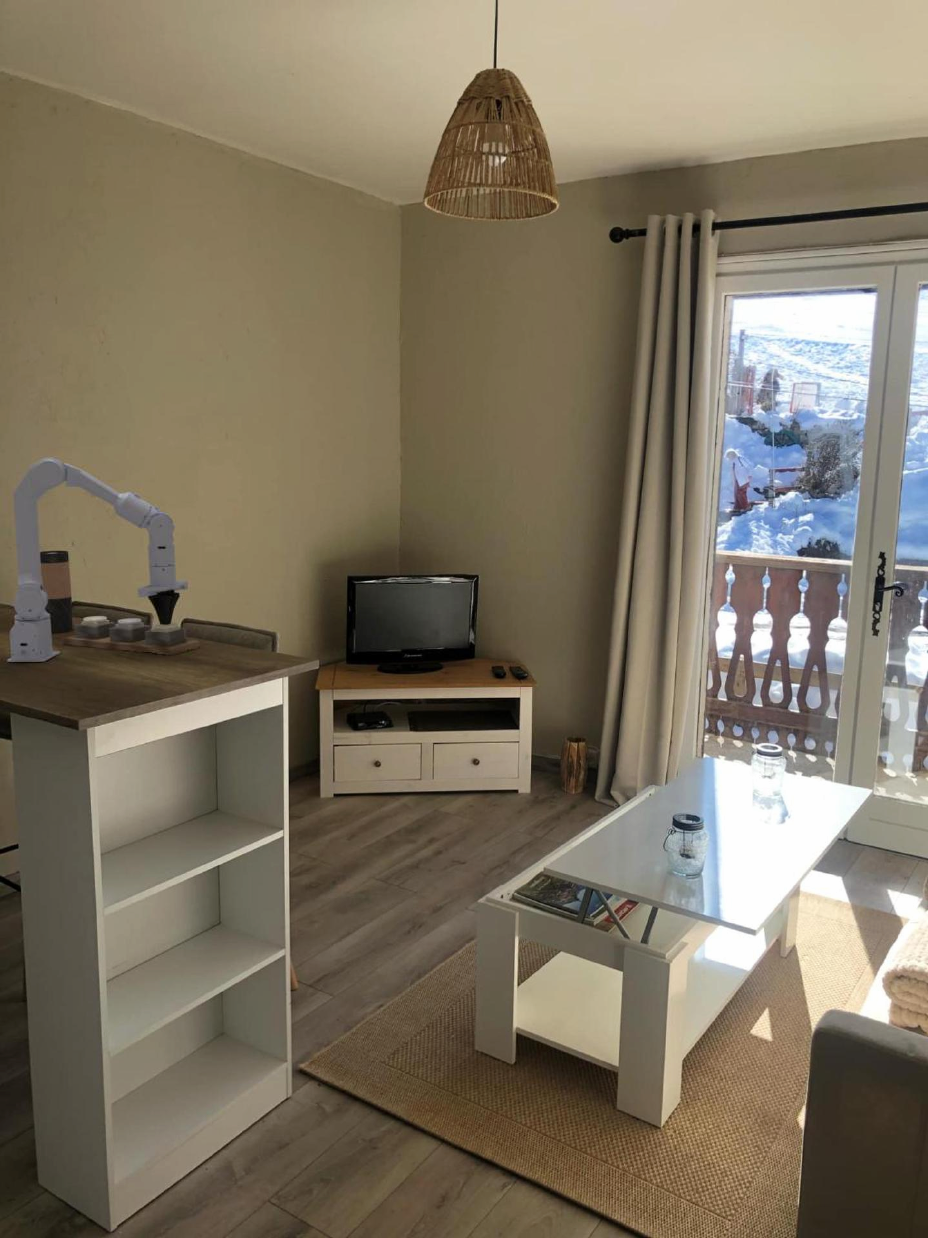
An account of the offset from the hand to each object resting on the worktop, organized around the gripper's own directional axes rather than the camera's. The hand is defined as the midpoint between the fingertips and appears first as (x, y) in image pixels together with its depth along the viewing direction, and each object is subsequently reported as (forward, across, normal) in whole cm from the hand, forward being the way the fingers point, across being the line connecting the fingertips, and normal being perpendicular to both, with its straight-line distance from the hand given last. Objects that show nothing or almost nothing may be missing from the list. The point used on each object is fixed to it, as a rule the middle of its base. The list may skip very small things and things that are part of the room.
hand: (165, 624), depth 232 cm
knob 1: (+4, 0, +21) cm, 21 cm away
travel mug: (+6, +8, +42) cm, 43 cm away
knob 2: (+4, 0, +10) cm, 11 cm away
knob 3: (+4, 0, 0) cm, 4 cm away
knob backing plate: (+6, 0, +10) cm, 12 cm away
